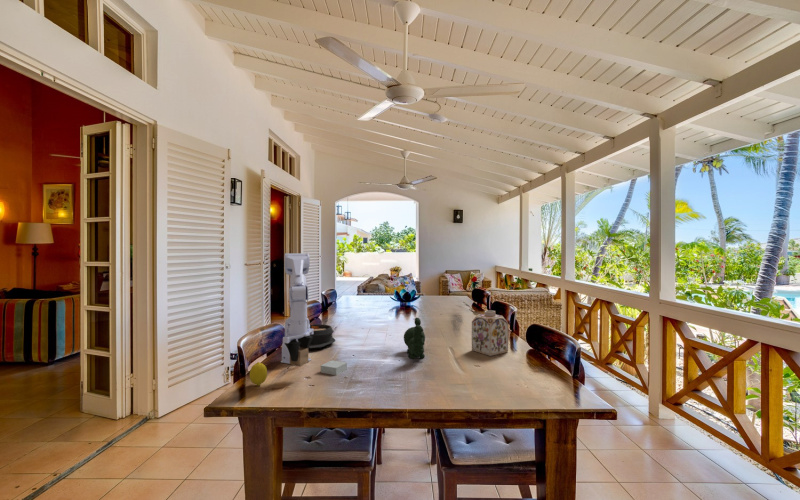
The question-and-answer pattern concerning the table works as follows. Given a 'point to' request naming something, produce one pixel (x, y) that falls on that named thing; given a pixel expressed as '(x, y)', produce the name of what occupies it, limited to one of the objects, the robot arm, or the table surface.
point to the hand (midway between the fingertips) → (298, 358)
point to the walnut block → (301, 357)
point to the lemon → (258, 373)
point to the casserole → (321, 335)
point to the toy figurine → (415, 340)
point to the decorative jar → (490, 334)
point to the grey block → (333, 367)
